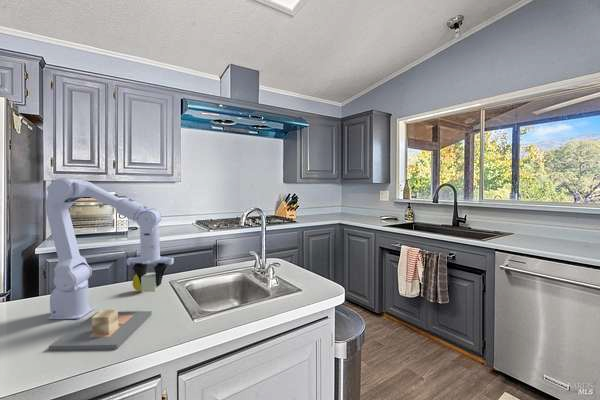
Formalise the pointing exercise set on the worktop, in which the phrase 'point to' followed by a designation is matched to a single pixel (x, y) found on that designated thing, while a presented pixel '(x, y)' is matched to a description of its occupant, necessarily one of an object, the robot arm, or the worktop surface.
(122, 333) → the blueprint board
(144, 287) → the sage block
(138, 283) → the lemon
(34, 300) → the worktop surface
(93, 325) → the maple block
